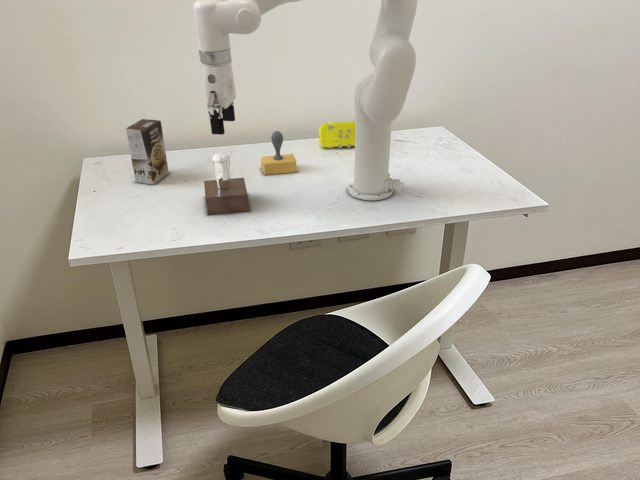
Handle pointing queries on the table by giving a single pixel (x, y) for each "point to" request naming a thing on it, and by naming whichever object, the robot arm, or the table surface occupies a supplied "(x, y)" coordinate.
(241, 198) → the brown square block
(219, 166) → the milkshake
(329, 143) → the yellow toy chassis
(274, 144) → the rubber stamp
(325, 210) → the table surface
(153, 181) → the coffee box
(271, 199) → the table surface
